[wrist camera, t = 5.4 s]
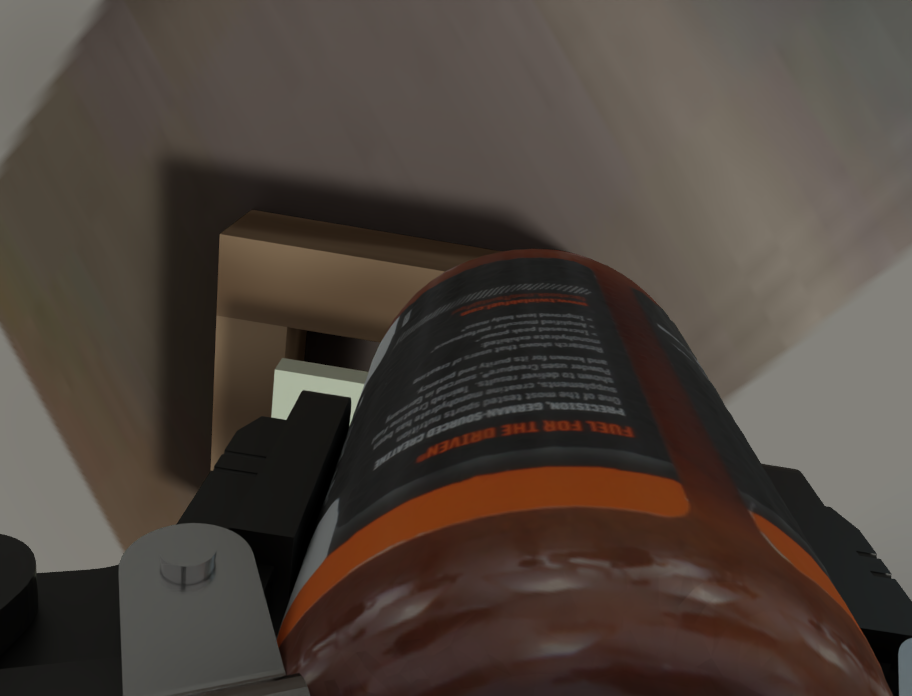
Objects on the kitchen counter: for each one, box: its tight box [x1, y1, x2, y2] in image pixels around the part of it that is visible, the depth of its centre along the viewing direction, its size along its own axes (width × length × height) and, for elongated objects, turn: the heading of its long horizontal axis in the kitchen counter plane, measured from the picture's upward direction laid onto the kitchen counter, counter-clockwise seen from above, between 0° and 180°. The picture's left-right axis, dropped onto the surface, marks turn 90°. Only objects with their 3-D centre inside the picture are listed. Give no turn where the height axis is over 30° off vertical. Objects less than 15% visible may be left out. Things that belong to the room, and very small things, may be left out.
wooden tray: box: [211, 210, 502, 471], centre depth 33 cm, size 15×14×4 cm
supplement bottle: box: [277, 248, 893, 696], centre depth 9 cm, size 6×6×11 cm
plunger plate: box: [271, 358, 368, 426], centre depth 29 cm, size 8×8×1 cm
